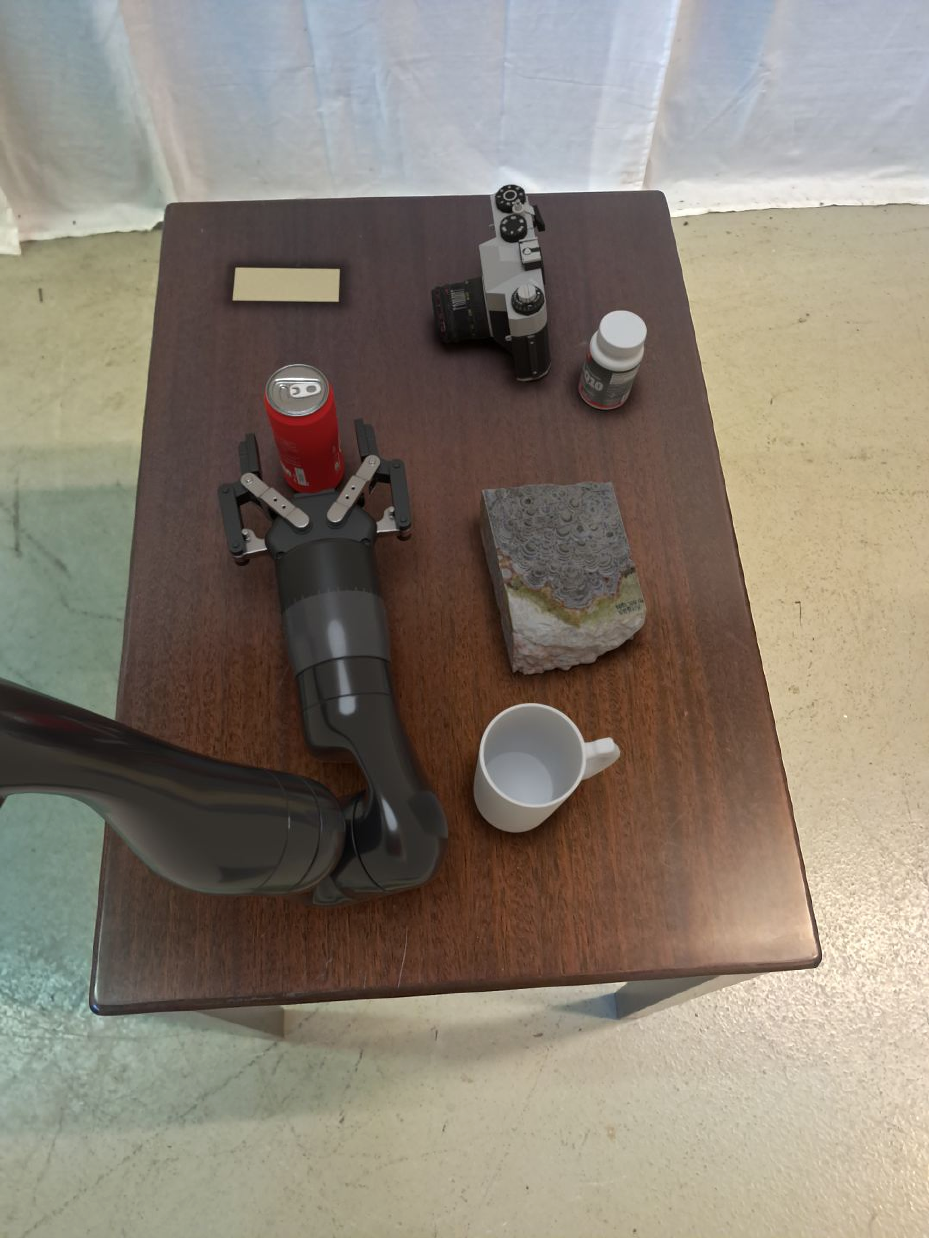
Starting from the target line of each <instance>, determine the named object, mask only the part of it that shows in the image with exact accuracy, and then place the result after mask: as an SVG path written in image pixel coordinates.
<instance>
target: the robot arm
mask: <svg viewBox="0 0 929 1238" xmlns="http://www.w3.org/2000/svg"><path fill="white" fill-rule="evenodd" d="M353 423H354V430H355V438H356V442H357V448H358V453H359V459H360V467H359V468H358V470H357V471H356V473H355V474H352V475H351V477H350V478H349V479H348V481H347V483H346V485H345V486H344V488H343V489H342V491H340V490H336V488H331V489H324V490H322V491H319V492H317V493H305V492H304V493H299V492H297V493H293V497H291V498H289V499H287V498H286V497H285V496H284V495H282V494H281V493H280V492H279V491H278V490H276V488H274V487H273V486H269V485H267V483H265V482H264V478H263V471H262V464H261V462H262V461H261V454H260V448H259V444H258V441H257V437H256V434H255V432H251V433H250V432H249V433H245V435H244V437H245V440H243V441H239V443H238V446H237V450H238V451H237V452H238V457H239V465H240V466H239V467H240V477H239V479H237V481H235V482H233V483H227V482H225V483H221V484H220V485H219V486H218V487H217V496H218V502H219V507H220V512H221V517H222V523H223V528H224V535H225V541H226V545H227V549H228V551H229V554H230V556H231V558H232V560H233V563H234V564H235V565H236V566H238V567H245V566H247V565H248V564H249V563H250V561H251V559H255V558H261V557H263V556H269V557H270V558H271V559H272V561H273V563H274V570H275V578H276V585H277V592H278V593H277V594H278V601H279V608H280V615H281V622H282V623H281V624H282V630H283V639H284V645H285V646H284V647H285V651H286V656H287V660H288V663H289V667H290V670H291V675H292V679H293V685H294V693H295V701H296V709H297V716H298V722H299V729H300V735H301V740H302V744H303V747H304V750H305V752H306V753H307V754H308V755H309V757H311V758H312V759H313V760H315V761H317V762H319V763H326V764H339V765H340V764H352V763H355V764H356V765H357V766H358V769H359V770H360V772H361V774H362V776H363V779H364V782H365V788H362V789H360V790H356V791H354V792H350V793H348V794H345V795H341V796H339V797H337V796H336V795H335V794H334V793H333V792H332V791H331V790H330V789H329V788H328V787H327V786H326V785H324V784H323V783H321V782H319V781H317V780H316V779H314V778H311V777H307V776H305V775H300V774H297V773H293V772H289V771H283V770H277V769H272V768H268V767H263V766H256V765H251V764H247V763H246V764H245V763H241V762H236V761H230V760H227V759H222V758H218V757H214V756H211V755H208V754H204V753H201V752H197V751H194V750H191V749H189V748H185V747H184V746H183V747H182V746H179V745H177V744H175V743H172V742H169V741H167V740H164V739H162V738H159V737H157V736H154V735H152V734H149V733H147V732H144V731H142V730H139V729H137V728H135V727H132V726H130V725H127V724H125V723H122V722H120V721H118V720H115V719H113V718H110V717H107V716H105V715H102V714H100V713H97V712H94V711H92V710H89V709H86V708H84V707H82V706H79V705H76V704H74V703H71V702H68V701H66V700H62V699H60V698H58V697H55V696H52V695H50V694H47V693H44V692H42V691H38V690H37V689H34V688H31V687H28V686H26V685H23V684H21V683H19V682H15V681H12V680H10V679H7V678H5V677H1V676H0V810H1V809H2V808H3V805H4V804H5V802H6V801H7V799H8V797H9V796H13V795H21V794H41V795H44V794H45V795H52V796H61V797H66V798H70V799H74V800H76V801H77V802H78V801H79V802H81V803H82V804H84V805H86V806H88V807H89V808H91V810H93V811H94V812H95V813H96V814H97V815H99V816H100V817H101V818H102V819H103V820H104V821H105V822H106V823H107V824H108V825H109V826H110V827H111V828H112V830H114V831H115V833H116V834H117V835H118V836H119V837H120V839H121V840H122V841H123V842H124V843H125V844H126V846H127V847H128V848H129V850H131V851H132V853H133V854H134V855H135V856H136V857H137V858H138V859H139V860H140V861H141V862H142V863H143V864H144V865H145V867H147V868H148V869H149V870H150V871H151V872H153V873H154V874H155V875H156V876H158V877H159V878H161V879H163V880H164V881H166V882H168V883H169V884H171V885H173V886H175V887H177V888H180V889H182V890H185V891H187V892H191V893H195V894H200V895H204V896H211V897H229V898H230V897H233V898H234V897H235V898H236V897H240V898H241V897H243V898H245V897H246V898H282V899H284V900H287V901H289V902H293V903H296V904H299V905H301V906H306V907H310V908H317V909H332V908H333V909H334V908H344V907H348V906H349V907H350V906H354V905H358V904H361V903H365V902H367V901H372V900H376V899H380V898H385V897H388V896H392V895H394V894H399V893H404V892H406V891H411V890H414V889H415V890H416V889H417V888H421V887H424V886H426V885H428V884H429V883H431V882H433V881H434V880H435V879H436V878H437V877H438V876H439V875H440V874H441V872H442V870H443V868H444V866H445V863H446V861H447V858H448V853H449V848H450V827H449V822H448V818H447V814H446V811H445V808H444V807H443V804H442V802H441V799H440V798H439V795H438V793H437V791H436V789H435V788H434V785H433V783H432V781H431V780H430V778H429V776H428V774H427V772H426V770H425V768H424V766H423V764H422V761H421V759H420V757H419V754H418V752H417V750H416V748H415V745H414V744H413V741H412V738H411V736H410V734H409V732H408V730H407V728H406V724H405V722H404V720H403V717H402V713H401V706H400V702H399V696H398V689H397V686H396V680H395V675H394V669H393V660H392V640H391V632H390V625H389V617H388V613H387V609H386V603H385V598H384V593H383V588H382V582H381V575H380V571H379V566H378V559H377V554H376V549H375V547H376V543H377V540H378V539H379V538H390V537H396V538H397V540H399V541H401V542H408V541H410V540H411V538H412V537H413V535H412V534H413V529H412V528H413V526H412V525H413V524H412V522H413V521H412V512H411V505H410V497H409V490H408V482H407V474H406V466H405V462H404V461H403V460H402V459H400V458H394V459H391V460H385V459H383V458H382V457H381V456H380V455H379V451H378V445H377V440H376V435H375V430H374V427H373V426H372V424H371V423H366V424H365V423H364V418H363V417H362V418H354V419H353ZM379 484H388V485H389V487H390V494H391V495H390V496H391V503H392V506H391V505H390V506H388V507H387V508H385V510H384V512H383V517H382V519H380V520H378V521H376V519H375V518H374V517H373V516H372V515H371V514H370V513H368V512H367V511H366V509H367V507H368V506H369V504H370V502H371V498H372V496H373V494H374V493H375V491H376V489H377V488H378V486H379ZM248 503H250V504H252V505H253V506H254V507H255V508H256V509H258V511H260V512H261V513H262V514H263V515H264V516H265V518H266V519H267V520H268V521H269V522H270V523H271V525H270V527H269V529H268V530H267V531H266V533H265V535H264V538H259V537H257V536H256V533H255V532H254V531H253V530H252V529H249V528H245V524H244V518H243V513H242V509H241V506H243V505H246V504H248Z"/></svg>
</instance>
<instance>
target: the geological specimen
mask: <svg viewBox="0 0 929 1238" xmlns="http://www.w3.org/2000/svg"><path fill="white" fill-rule="evenodd" d="M479 505H480V506H479V508H480V511H479V532H480V536H481V542H482V546H483V549H484V553H485V558H486V563H487V568H488V571H489V574H490V580H491V583H492V585H493V592H494V597H495V600H496V607H497V608H498V611H499V613H500V624H501V629H502V633H503V638H504V642H505V646H506V651H507V654H508V659H509V663H510V667H511V671H512V674H514V673H516V672H519V673H522V674H523V675H524V676H525V675H533V674H543V673H544V672H545V671H552V670H555V669H557V668H558V669H560V670H562V671H564V672H565V671H570V669H571V668H572V667H573V666H578V665H580V664H581V665H582V664H583V665H584V664H586V665H588V664H592V663H595V662H596V660H597V658H598V657H600V656H603V655H604V654H605V653H607V652H609V651H612V650H615V649H617V648H619V647H620V646H621V645H623V644H625V642H627V640H629V641H633V640H634V637H635V633H637V632H638V631H639V630H640V629H641V628H642V627H643V626H644V624H645V622H646V618H647V606H646V602H645V599H644V595H643V591H642V588H641V584H640V581H639V577H638V573H637V569H636V566H635V561H634V560H633V559H632V551H631V549H630V545H629V540H628V537H627V534H626V530H625V526H624V523H623V519H622V516H621V512H620V507H619V505H618V501H617V497H616V493H615V489H614V486H613V483H612V481H608V482H600V481H595V482H594V481H591V480H586V481H582V482H578V483H573V484H564V485H561V484H555V483H545V482H544V483H540V484H536V483H535V484H533V483H532V484H523V485H520V486H515V487H508V486H507V487H499V488H485V489H481V497H480V502H479Z"/></svg>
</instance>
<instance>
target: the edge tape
mask: <svg viewBox="0 0 929 1238" xmlns="http://www.w3.org/2000/svg"><path fill="white" fill-rule="evenodd" d="M340 273H341V269H340V268H294V267H293V268H287V267H282V268H281V267H235V270H234V280H233V281H234V282H233V291H232V292H233V294H232V301H233V302H287V303H288V302H292V303H293V302H295V303H296V302H298V303H299V302H300V303H317V302H318V303H339V302H340V275H341V274H340Z"/></svg>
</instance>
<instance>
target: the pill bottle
mask: <svg viewBox="0 0 929 1238" xmlns="http://www.w3.org/2000/svg"><path fill="white" fill-rule="evenodd" d="M647 332H648V330H647V326H646V323H645V321H644V320H643V319H642V317H640V316H639V315H637V314H636V313H634V312H631V311H629V310H613V311H611V312H609V313H607V314H606V315H605V316H604V317H602V319H601V321H600V322H599V326H598V329H597V330H596V331H594V334H593V335H592V336H591V339H590V341H589V344H588V348H587V351H586V355H585V358H584V362H583V365H582V369H581V373H580V378H579V381H578V391H579V395H580V397H581V398H582V399H583V401H584V402H585V403H586V404H587V405H589V406H590V407H592V408H595V409H598V410H604V411H605V410H613V409H617V408H619V407H621V406H622V405H623V404H624V403H625V402H626V401H627V400H628V397H629V395H630V392H631V390H632V387H633V384H634V381H635V379H636V377H637V373H638V371H639V368H640V365H641V362H642V360H643V357H644V353H645V345H644V344H645V341H646V338H647Z"/></svg>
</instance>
